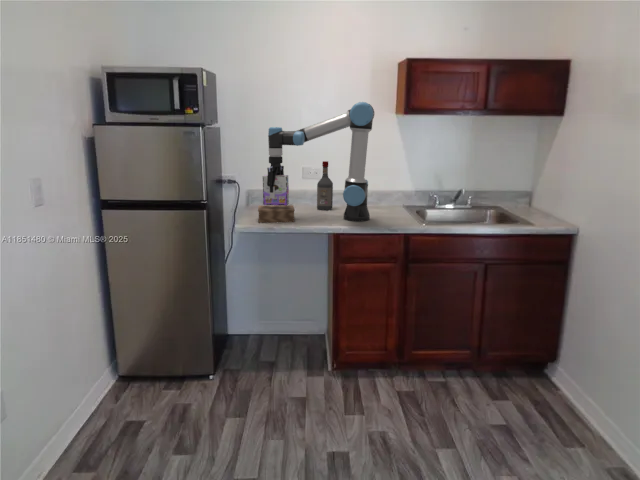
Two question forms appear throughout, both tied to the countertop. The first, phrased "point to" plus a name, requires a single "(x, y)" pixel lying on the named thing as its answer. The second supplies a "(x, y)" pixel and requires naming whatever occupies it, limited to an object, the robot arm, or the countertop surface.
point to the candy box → (276, 191)
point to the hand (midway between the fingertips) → (276, 197)
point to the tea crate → (276, 213)
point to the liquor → (324, 190)
